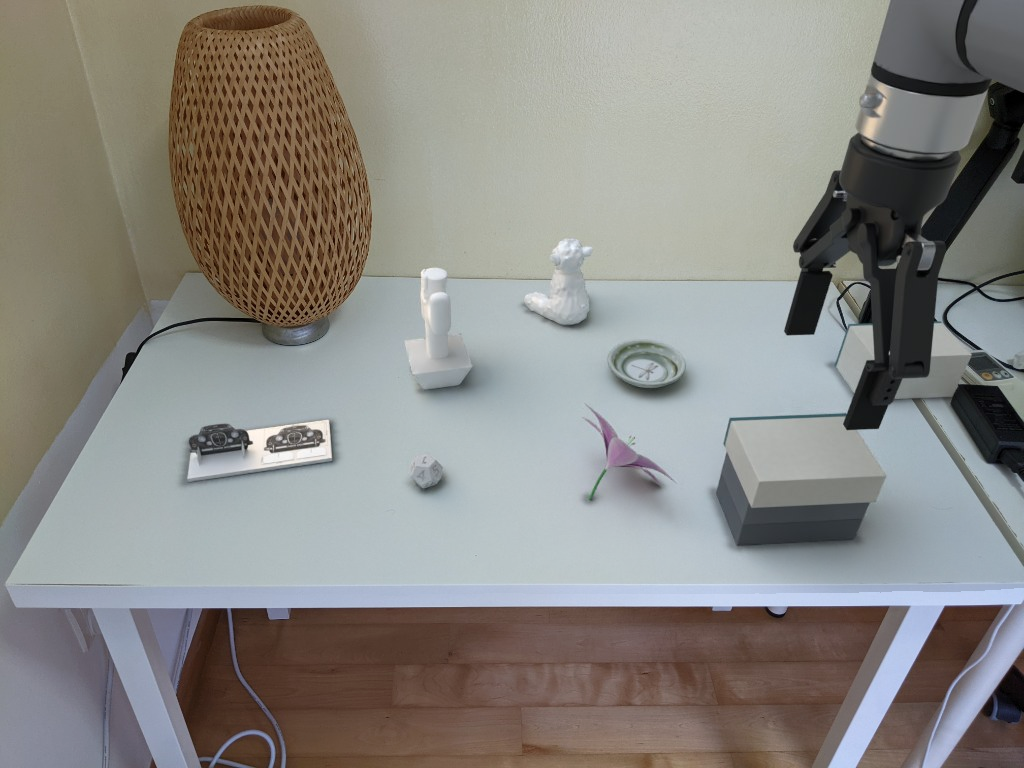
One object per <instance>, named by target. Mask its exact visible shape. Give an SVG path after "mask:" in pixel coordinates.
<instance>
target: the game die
mask: <svg viewBox="0 0 1024 768" xmlns="http://www.w3.org/2000/svg"><path fill="white" fill-rule="evenodd" d="M443 470H444V466H443V465H442V464H441V463H440V462H439V461H438V460H437V459H436V458H434V457H433V455H431V454H429V453H424V454H420V455H417V456H415V457H414V458H413V459H412V460H411V462H410V465H409V468H408V473H407V475H408V476H409V478H411V479H412V480H413V482H415V483H416V484H417V485H418V486H419V487H420V488H422V489H427V488H429V487H433V486H436V485H437V484H438V483H439V482H440V481H441V480H442V474H443Z"/></svg>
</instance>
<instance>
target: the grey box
mask: <svg viewBox="0 0 1024 768" xmlns="http://www.w3.org/2000/svg"><path fill="white" fill-rule="evenodd" d="M715 494H716V496H717V499H718V501H719V504H720V505H721V509H722V511H723V514H724V516H725V519H726V522H727V524H728V526H729V529H730V531H731V534H732V537H733V539H734V542H735V545H736V546H750V545H769V544H770V545H771V544H791V543H792V544H793V543H810V542H828V541H831V542H832V541H848V540H855V539H856V536H857V534H858V532H859V529H860V526H861V524H862V522H863V519H864V517H865V515H866V513H867V510H868V508H869V507H870V504H871V502H865V503H845V504H824V505H803V506H782V507H761V508H751V506H750V503H749V501H748V499H747V496H746V494H745V492H744V490H743V487H742V485H741V483H740V480H739V478H738V476H737V474H736V471H735V469H734V467H733V464H732V462H731V460H730V458H729V455H728V453H727V451H726V452H725V456H724V459H723V464H722V467H721V472H720V476H719V479H718V484H717V488H716V492H715Z"/></svg>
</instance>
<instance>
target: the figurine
mask: <svg viewBox="0 0 1024 768" xmlns="http://www.w3.org/2000/svg"><path fill="white" fill-rule="evenodd" d="M420 279H421V281H420V293H419V295H420V306H421V307H420V308H421V317H422V319H423V320H424V326H425V329H424V330H425V337H421V338H415V339H406V340H403V342H404V345H405V349H406V350H405V351H406V354H407V359H408V362H409V365H410V370H411V374H412V376H413V377H414V379H415V380H416V381H417V383H418V384H419V385H420V386H421V388H422V389H423V390H425V391H426V390H434V389H439V388H441V389H442V388H448V387H455V386H460V385H461V384H462V382H463V380H464V379H465V378H466V377H467V375H468V373H470V371H471V370H472V368H473V367H474V366H473V364H472V361H471V359H470V355H469V353H468V349H467V347H466V343H465V341H464V338H463V335H462V333H453V334H448V333H449V332H450V330H451V327H452V309H451V306H452V305H451V297H450V295H449V294H448V293H447V284H448V272H447V271H446V270H445V269H443V268H440V267H429V268H427V269H425V268H423V269H422V270H421V272H420Z"/></svg>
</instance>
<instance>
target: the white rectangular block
mask: <svg viewBox="0 0 1024 768" xmlns="http://www.w3.org/2000/svg"><path fill="white" fill-rule="evenodd" d="M889 355H890V352H889ZM972 355H973V354H972V353H971V352H970V351H969V350H968V349H967V348H966V347H965V346H964V344H962V342H961V341H960V340H959V339H958V338H957V337H956V336H955V335H954V334H953V333H952V332H951V331H950V330H949V329H948V328H947V327H946V325H945V324H943V322H942V321H941V320H940V321H939V320H937V321H935V320H934V330H933V341H932V352H931V363H930V372H929V375H928V377H926V378H903V379H902V381H901V384H900V386H899V389H898V391H897V393H896V395H895V398H894V400H904V399H905V400H907V399H930V398H931V399H932V398H953V396H954V395H955V392H956V390H957V388H958V385H959V384H960V382H961V380H962V377H963V376H964V373H965V371H966V369H967V366H968V364H969V363H970V360H971V358H972ZM867 360H874V342H873V324H872V323H870V322H869V323H848V324H847V327H846V331H845V334H844V336H843V340H842V342H841V346H840V348H839V352H838V354H837V357H836V361H835V363H834V367H835V369H836V370H837V371H838V372H839V374H840V375H841V377H842V378H843V379H844V381H845V383H846V384H847V385H848V387H849V388H850V390H851V391H852V392H853V394H854V393H855V390H856V388H857V385H858V382H859V380H860V377H861V374H862V371H863V369H864V366H865V363H866V361H867Z"/></svg>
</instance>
